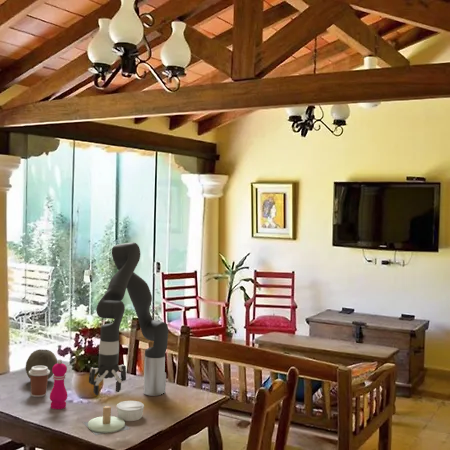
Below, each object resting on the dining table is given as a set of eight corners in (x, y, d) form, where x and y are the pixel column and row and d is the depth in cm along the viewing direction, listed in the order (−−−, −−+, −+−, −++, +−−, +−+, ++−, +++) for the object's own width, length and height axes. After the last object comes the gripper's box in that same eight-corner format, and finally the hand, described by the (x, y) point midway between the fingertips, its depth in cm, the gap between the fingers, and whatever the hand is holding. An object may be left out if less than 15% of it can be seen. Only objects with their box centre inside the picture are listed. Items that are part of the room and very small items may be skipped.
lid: (116, 416, 244) (117, 399, 244) (130, 428, 232) (131, 410, 232) (82, 422, 236) (83, 404, 236) (95, 435, 225) (96, 416, 224)
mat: (116, 417, 244) (116, 416, 244) (130, 429, 232) (130, 428, 232) (82, 423, 236) (82, 422, 236) (95, 436, 225) (95, 435, 225)
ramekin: (131, 425, 237) (131, 412, 237) (110, 418, 243) (110, 405, 243) (149, 417, 247) (149, 404, 247) (128, 411, 253) (129, 398, 252)
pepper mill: (62, 410, 249) (63, 362, 248) (46, 408, 251) (47, 361, 250) (70, 405, 256) (71, 358, 255) (54, 403, 258) (56, 356, 257)
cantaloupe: (51, 386, 279) (52, 354, 278) (20, 385, 279) (21, 353, 279) (60, 377, 293) (61, 347, 293) (31, 376, 293) (32, 345, 293)
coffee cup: (51, 391, 273) (52, 365, 272) (46, 398, 263) (47, 371, 263) (31, 390, 272) (32, 364, 272) (25, 397, 263) (26, 370, 263)
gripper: (122, 347, 240) (120, 388, 241) (87, 351, 233) (85, 392, 233) (129, 352, 234) (128, 393, 234) (94, 355, 226) (92, 398, 227)
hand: (107, 393), depth 234 cm, fingers open, 8 cm apart
